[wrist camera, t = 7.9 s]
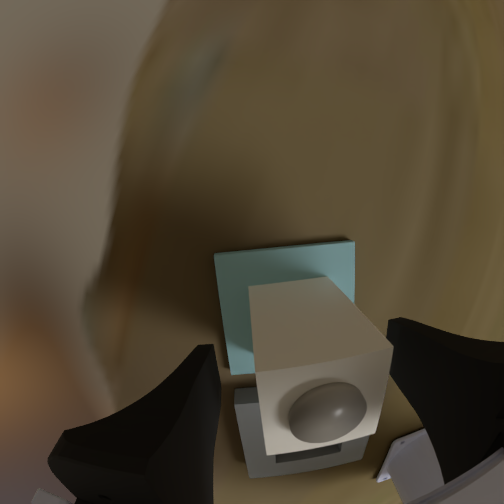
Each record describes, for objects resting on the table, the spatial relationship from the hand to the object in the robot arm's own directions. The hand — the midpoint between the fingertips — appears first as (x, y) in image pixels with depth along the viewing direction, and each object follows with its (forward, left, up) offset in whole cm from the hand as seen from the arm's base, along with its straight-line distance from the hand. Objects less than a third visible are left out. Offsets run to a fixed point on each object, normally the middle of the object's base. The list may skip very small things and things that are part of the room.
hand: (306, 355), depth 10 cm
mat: (0, 0, -4) cm, 4 cm away
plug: (0, 0, -4) cm, 4 cm away
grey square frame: (-1, +10, -4) cm, 11 cm away
